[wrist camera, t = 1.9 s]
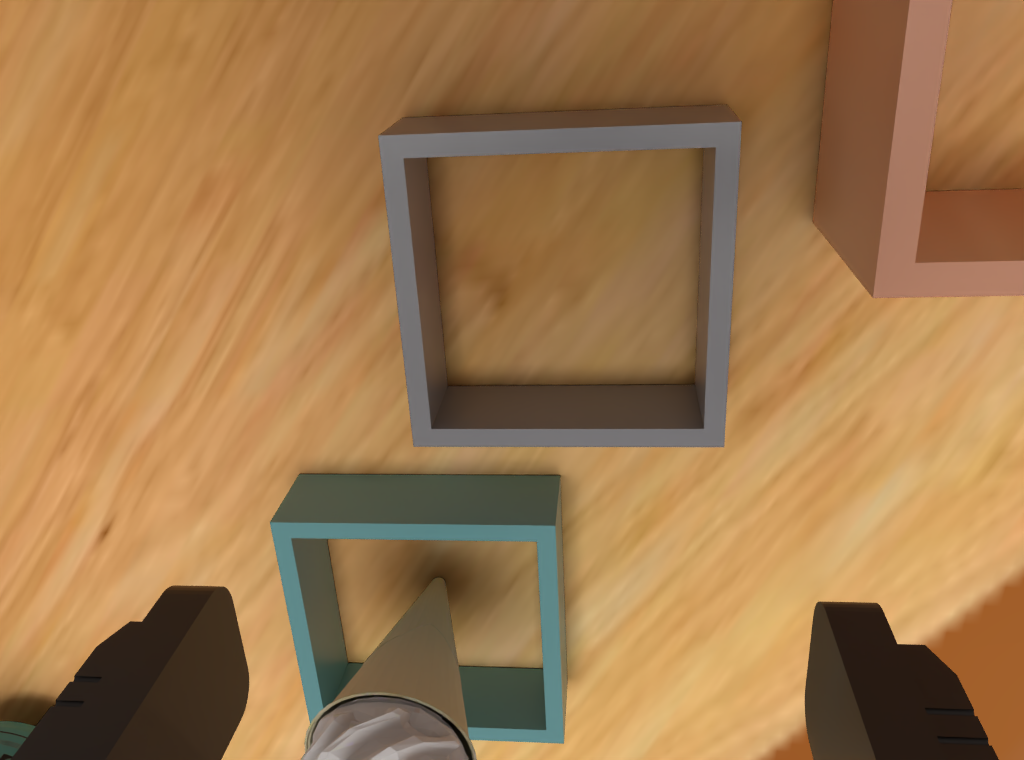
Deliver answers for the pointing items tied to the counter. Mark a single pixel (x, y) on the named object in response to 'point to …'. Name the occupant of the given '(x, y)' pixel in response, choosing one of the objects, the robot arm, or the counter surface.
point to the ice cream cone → (401, 695)
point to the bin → (904, 164)
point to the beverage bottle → (12, 737)
